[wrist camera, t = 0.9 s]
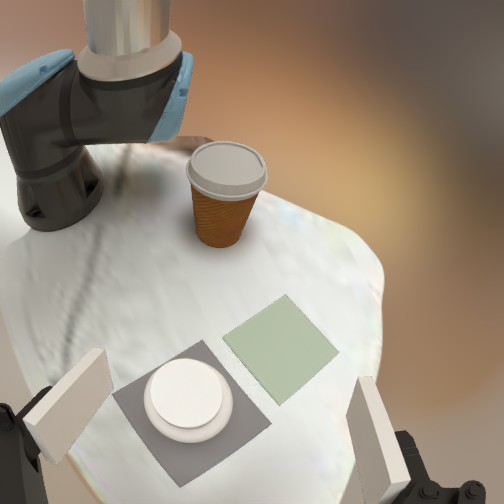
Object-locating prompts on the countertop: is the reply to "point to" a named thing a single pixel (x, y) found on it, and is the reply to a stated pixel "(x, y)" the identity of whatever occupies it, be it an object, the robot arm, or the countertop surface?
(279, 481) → the countertop surface
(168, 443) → the mat
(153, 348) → the countertop surface
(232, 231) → the disposable coffee cup
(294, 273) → the countertop surface
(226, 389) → the supplement bottle
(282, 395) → the mat
